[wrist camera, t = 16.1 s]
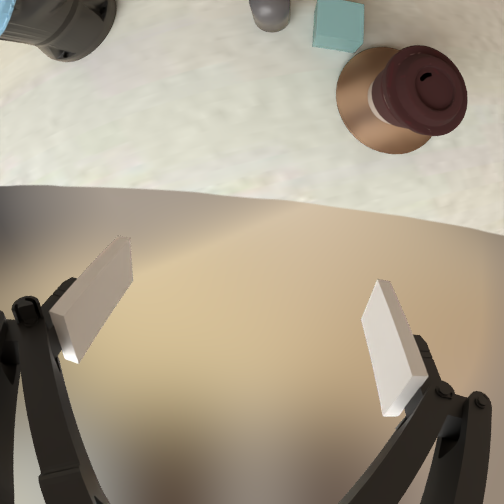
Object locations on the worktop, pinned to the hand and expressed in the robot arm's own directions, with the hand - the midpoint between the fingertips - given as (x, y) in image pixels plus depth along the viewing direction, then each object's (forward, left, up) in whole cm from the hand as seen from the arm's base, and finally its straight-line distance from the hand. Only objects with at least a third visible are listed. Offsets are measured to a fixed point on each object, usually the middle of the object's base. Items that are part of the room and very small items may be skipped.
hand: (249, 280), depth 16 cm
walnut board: (+1, +22, -31) cm, 38 cm away
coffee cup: (+1, +21, -30) cm, 37 cm away
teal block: (-11, +22, -31) cm, 40 cm away
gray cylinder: (-19, +17, -31) cm, 40 cm away
